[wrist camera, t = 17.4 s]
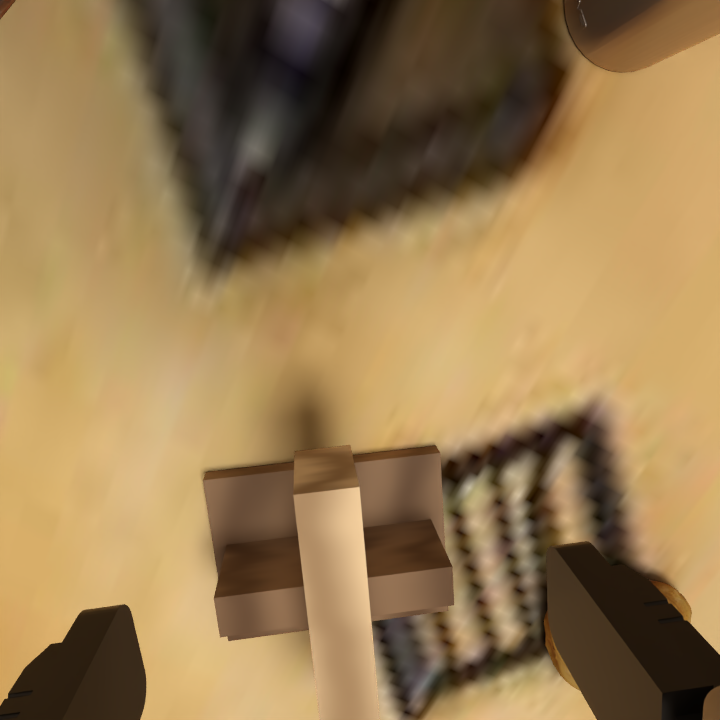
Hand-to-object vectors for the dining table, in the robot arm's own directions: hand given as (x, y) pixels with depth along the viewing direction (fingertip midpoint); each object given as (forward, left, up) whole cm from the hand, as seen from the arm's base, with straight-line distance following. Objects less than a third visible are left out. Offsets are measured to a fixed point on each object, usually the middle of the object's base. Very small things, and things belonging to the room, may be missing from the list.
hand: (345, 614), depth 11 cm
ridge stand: (0, +17, -32) cm, 36 cm away
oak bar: (0, +17, -24) cm, 30 cm away
